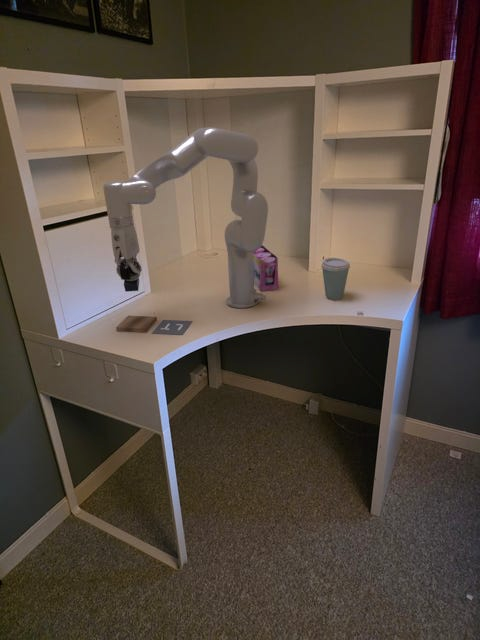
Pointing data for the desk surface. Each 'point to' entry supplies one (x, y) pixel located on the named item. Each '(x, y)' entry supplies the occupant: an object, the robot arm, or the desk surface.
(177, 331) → the mat
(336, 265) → the disposable coffee cup
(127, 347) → the desk surface
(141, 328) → the walnut board
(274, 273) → the gum box
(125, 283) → the watch
